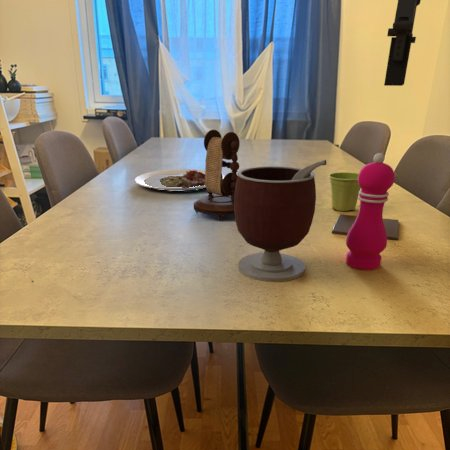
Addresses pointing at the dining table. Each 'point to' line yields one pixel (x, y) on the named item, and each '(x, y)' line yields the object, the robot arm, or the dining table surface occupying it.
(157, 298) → the dining table surface
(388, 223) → the coaster board
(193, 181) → the plated food
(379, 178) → the pepper mill
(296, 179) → the mate gourd
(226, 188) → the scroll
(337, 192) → the plant pot
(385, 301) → the dining table surface
